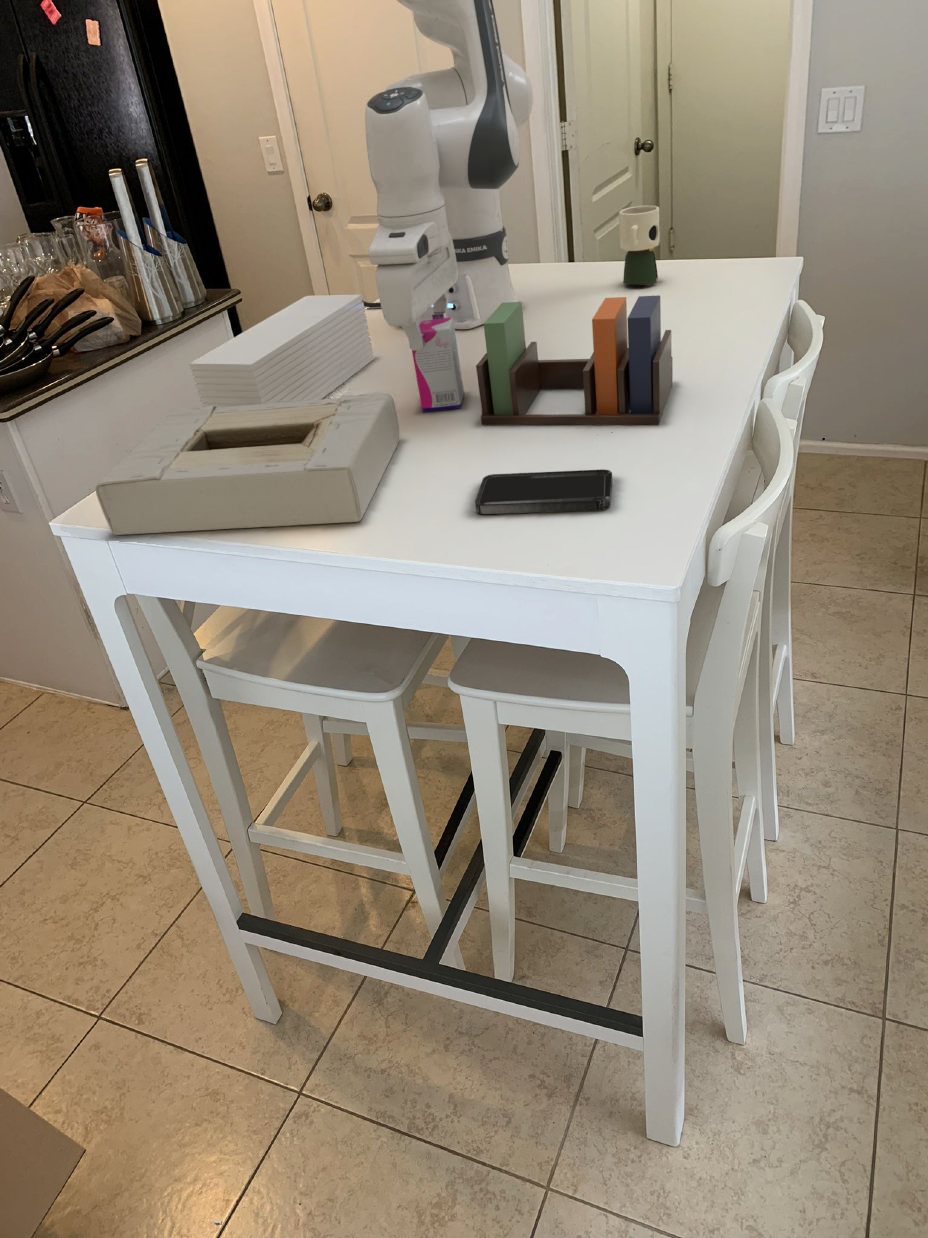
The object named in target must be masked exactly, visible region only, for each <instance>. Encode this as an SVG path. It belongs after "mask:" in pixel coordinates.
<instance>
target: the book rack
mask: <svg viewBox="0 0 928 1238" xmlns="http://www.w3.org/2000/svg"><path fill="white" fill-rule="evenodd" d="M475 367H476V376H477V377H476V378H477V386H478V392H479V393H478V394H479V399H480V407H481V408H480V409H481V416H480V422H481V423H480V424H481V425H482V426H561V425H562V426H568V425H569V426H574V425H575V426H580V425H581V426H586V425H587V426H590V425H591V426H609V425H610V426H611V425H612V426H614V425H615V426H626V425H627V426H633V425H634V426H635V425H636V426H639V425H640V426H649V425H650V426H651V425H652V426H653V425H655V426H657V425H660V423H661V420H662V417H663V414H664V411H665V408H666V405H667V402H668V399H669V396H670V393H671V391H672V387H673V383H674V382H673V381H674V380H673V356H672V329H665V331H664V333H663V336H662V337H661V343H660V345H659V348H658V350H657V353H656V355H655V357H654V360H653V412H654V413H653V414H630V384H629V351H628V349H627V351H626V353H625V356H624V358H623V360H622V362H621V364H620V366H619V368H618V370H617V372H618V399H619V414H597V405H596V386H595V367H594V351H593V352H592V354H591V355H590V357H589V358H569V359H568V358H564V359H539V353H538V342H537V341H531V342H529V344H528V345H527V346H526V350H525V351H524V352H523V354H522V355H521V357H520V358H519V359H518V361H517V362H516V363H515V365H514V366H513V367H512V369H511V370H510V372H509V378H510V388H511V397H512V406H513V415H494V409H493V400H492V392H491V383H490V375H489V367H488V358H487V352H486V353H485V354H484V355H483V357H481V359H480V360H479V361H478V363H477V364H476V365H475ZM559 389H560V390H571V389H572V390H574V389H575V390H576V389H580V390H581V389H583V394H584V396H583V399H584V413H573V414H572V413H570V414H569V413H568V414H567V413H561V414H558V413H555V414H552V413H551V414H549V413H547V414H541V413H540V414H534V413H533V414H527V412H528V410H529V409H530V407H531V405H532V404H533V402H534V401H535V399H536V397H537V396H538V395H539V393H540V391H541V390H559Z"/></svg>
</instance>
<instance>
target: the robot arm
mask: <svg viewBox="0 0 928 1238" xmlns="http://www.w3.org/2000/svg"><path fill="white" fill-rule="evenodd" d="M396 1H397V2H398V3H399V4H401V6H404V7H405V8H407V9H408V10H410V11H411V12H412V15H413V21H414V23H415V25H416V28H417V30H418V31H419V32H420V33H421V34H422V36H424V37H425V38H426V39H429V40H430V41H432V42H434V43H436V44H439V45H441V46H443V47H446V48H448V49H449V50H450V52H451V54H452V60H453V66H452V67H450V68H446V69H445V68H444V69H440V70H439V69H438V70H434V71H428V72H422V73H416V74H412V75H410V76H407V77H404V78H402V79H399V80H397V81H395V82H393V83H391V84H389V85H387V86H386V88H385V89H384V91H381V92H378V93H376V94H375V95H373V96H372V97H371V98H369V100H368V101H367V102H366V104H365V111H364V112H365V113H364V116H365V117H364V123H365V140H366V152H367V160H368V166H369V172H370V178H371V180H372V183H373V186H374V188H375V190H376V195H377V196H376V197H377V203H376V214H377V220H378V224H377V226H376V232H375V235H374V238H373V239H372V242H371V243H370V245H369V247H368V257H369V262H370V264H371V265H372V266H375V265H376V269H375V282H376V288H377V294H378V299H379V302H368V301H365V300H364V299H363V300H362V301H363V303H364V306H363V307H364V308H365V307H366V308H381V311H382V315H383V318H384V320H385V321H386V323H387V324H388V326H390V327H400V328H401V329H402V330H403V331H404V334H405V335H406V337H407V338H408V345H409V349H410V351H412V350H421V349H422V348H423V347H424V346H425V337H424V334H421V331H420V328H419V325H420V321H427V320H435V319H443V318H451V317H453V321H454V327H455V330H470V329H474V328H476V327H479V326H481V325H483V324H484V322H485V321H486V320H487V319H488V318H489V317H490V316H491V315H492V314H493V312H494V311H495V310H496V309H497V308H498V307H499V306H500V305H501V303H507V302H519V301H518V298H517V295H516V292H515V288H514V285H513V281H512V277H511V272H510V269H509V268H510V267H509V263H508V262H509V255H510V252H509V242H508V236H507V231H506V227H505V226H504V225H503V224H504V223H503V215H502V205H501V195H500V194H501V193H500V188H501V187H502V186H503V185H505V183H506V182H508V180H509V179H511V177H512V176H513V175H514V174H515V172H516V171H517V169H518V168H519V165H520V157H521V143H520V137H519V131H518V129H520V128H523V127H524V126H525V125H526V123H527V122H528V120H529V118H530V115H531V112H532V109H533V102H534V95H533V94H534V93H533V86H532V83H531V81H530V78H529V76H528V75H527V73H526V71H525V70H524V68H523V67H522V66H521V65H519V63H517V62H516V61H514V60H512V58H511V57H509V56H508V55H507V54H506V52H505V51H504V50H503V49H502V46H501V41H500V35H499V34H500V33H499V28H498V24H497V18H496V14H495V13H496V12H495V8H494V3H493V0H396Z"/></svg>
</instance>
